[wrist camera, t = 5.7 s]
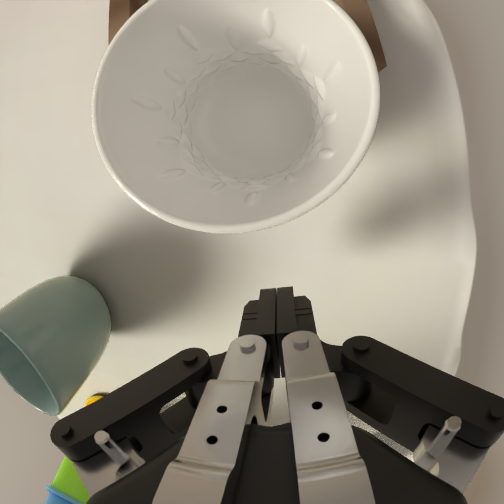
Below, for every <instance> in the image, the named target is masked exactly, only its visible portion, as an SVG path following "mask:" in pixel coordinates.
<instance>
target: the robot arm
mask: <svg viewBox="0 0 504 504" xmlns="http://www.w3.org/2000/svg"><path fill="white" fill-rule="evenodd" d="M280 367H281V376H282V378H283V377H285V380H286V390H287V399H288V408H289V417H290V423H286V424H282V425H278V426H274V427H269V420H270V414H271V407H272V400H273V387H274V378H280ZM184 392H185V394H186V397H185V398H183V399H182V400H180V401H179V402H177V403H176V404H174V405H173V406H171V407H170V408H168V409H167V410H165V411H164V412H162V413H160V410H161V408H162V407H163V406H164V405H165V404H167V403H168V402H170V401H172V400H173V399H175V398H176V397H178V396H179V395H181V394H182V393H184ZM346 410H347V411H349V412H350V413H352V414H353V415H355V416H356V417H358V418H359V419H361V420H362V421H364V422H365V423H367V424H368V425H370V426H371V427H373V428H375V429H376V430H378V431H379V432H381V433H382V434H384V435H386V436H387V437H389V438H390V439H392V440H394V441H395V442H397V443H399V444H400V445H402V446H404V447H405V448H407V449H409V450H410V451H412V452H414V453H413V460H414V462H412V461H411V460H409V459H408V458H406V457H404V456H403V455H401V454H400V453H398V452H397V451H395V450H394V449H392V448H391V447H389V446H388V445H387V444H385V443H384V442H382V441H381V440H379V439H378V438H376V437H375V436H374V435H372V434H371V433H369V432H367V431H365V430H363V429H361V428H359V427H356V426H352V425H351V424H350V421H349V417H348V414H347V411H346ZM503 433H504V398H502V397H500V396H497V395H495V394H493V393H490V392H488V391H485V390H483V389H481V388H479V387H477V386H474V385H472V384H470V383H468V382H465V381H463V380H461V379H459V378H456V377H454V376H452V375H450V374H448V373H445V372H443V371H441V370H439V369H437V368H434V367H432V366H430V365H428V364H426V363H424V362H421V361H419V360H417V359H415V358H413V357H411V356H409V355H407V354H404V353H402V352H400V351H398V350H396V349H394V348H392V347H390V346H388V345H386V344H383V343H381V342H379V341H377V340H375V339H373V338H371V337H367V336H355V337H352V338H349V339H348V340H346V341H345V342H344V343H343V345H342V346H335V345H330V344H327V343H324V342H323V341H321V340H320V339H319V337H318V336H317V332H316V327H315V321H314V316H313V311H312V306H311V301H310V300H309V299H308V298H307V297H306V296H297V297H294V295H293V286H292V287H282V288H277V290H276V288H272V289H261V290H260V297H259V300H253V301H249V302H248V304H247V305H246V306H245V307H244V311H243V316H242V321H241V326H240V330H239V335H238V338H236V339H235V340H233V341H232V342H231V344H230V346H229V348H228V351H227V352H224V353H221V354H218V355H213V356H209V355H208V353H207V352H206V351H205V350H203V349H200V348H189V349H185V350H183V351H181V352H179V353H177V354H176V355H174V356H173V357H171V358H169V359H168V360H166V361H164V362H163V363H161V364H159V365H158V366H156V367H154V368H153V369H151V370H149V371H148V372H146V373H144V374H142V375H141V376H139V377H137V378H136V379H134V380H132V381H130V382H129V383H127V384H125V385H123V386H122V387H120V388H118V389H116V390H115V391H113V392H111V393H109V394H107V395H106V396H104V397H102V398H100V399H98V400H97V401H95V402H93V403H91V404H89V405H87V406H85V407H84V408H82V409H80V410H78V411H76V412H74V413H72V414H70V415H68V416H66V417H65V418H63V419H61V420H59V421H58V422H56V423H55V425H54V426H53V428H52V430H51V434H50V436H51V440H52V442H53V443H54V444H55V445H56V446H57V447H58V448H59V449H60V450H61V451H62V452H63V453H64V454H65V456H66V457H67V458H68V459H69V460H70V461H71V462H72V463H73V465H74V467H75V469H76V471H77V473H78V475H79V477H80V479H81V481H82V483H83V485H84V487H85V489H86V490H87V492H88V494H89V496H90V498H89V499H88V501H87V502H86V503H85V504H467V501H466V499H465V497H464V496H463V493H464V492H465V490H466V488H467V486H468V485H469V484H470V482H471V480H472V479H473V477H474V475H475V474H476V472H477V470H478V468H479V467H480V465H481V463H482V461H483V459H484V457H485V455H486V453H487V451H488V450H489V449H490V448H491V447H492V446H493V445H494V443H495V442H496V441H497V440H498V439H499V437H500V436H501V435H502V434H503Z"/></svg>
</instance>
